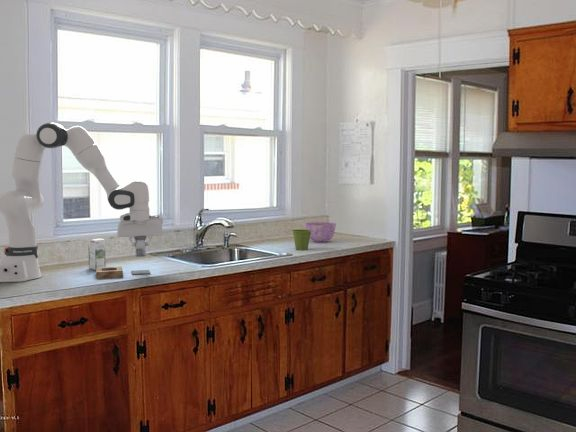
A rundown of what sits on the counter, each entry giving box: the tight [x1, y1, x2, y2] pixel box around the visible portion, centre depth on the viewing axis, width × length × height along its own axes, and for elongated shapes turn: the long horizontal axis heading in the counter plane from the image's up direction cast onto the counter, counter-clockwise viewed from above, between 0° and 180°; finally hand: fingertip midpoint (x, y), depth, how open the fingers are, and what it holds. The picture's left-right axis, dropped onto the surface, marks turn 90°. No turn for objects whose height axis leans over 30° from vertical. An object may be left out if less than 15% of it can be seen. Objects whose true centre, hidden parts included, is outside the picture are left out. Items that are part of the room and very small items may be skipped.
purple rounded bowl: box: [305, 221, 337, 243], centre depth 378 cm, size 20×20×12 cm
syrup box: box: [88, 237, 107, 271], centre depth 282 cm, size 6×6×14 cm
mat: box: [131, 269, 151, 276], centre depth 272 cm, size 8×8×1 cm
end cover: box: [133, 236, 148, 258], centre depth 270 cm, size 6×6×9 cm
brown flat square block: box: [95, 266, 124, 280], centre depth 265 cm, size 11×11×3 cm
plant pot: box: [291, 228, 312, 251], centre depth 345 cm, size 12×12×11 cm
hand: (140, 245), depth 270 cm, fingers closed on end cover, 5 cm apart
